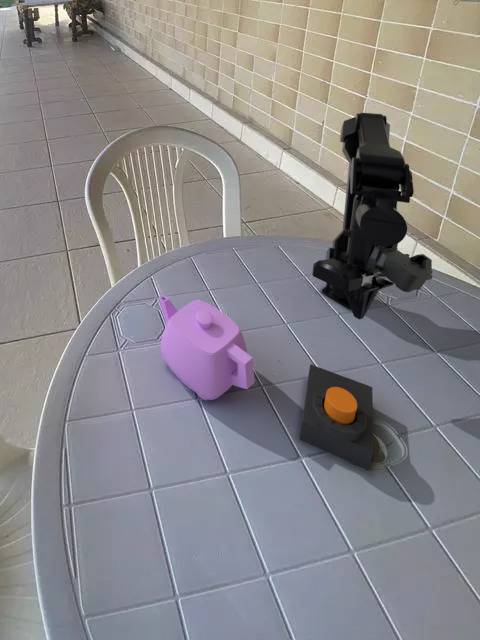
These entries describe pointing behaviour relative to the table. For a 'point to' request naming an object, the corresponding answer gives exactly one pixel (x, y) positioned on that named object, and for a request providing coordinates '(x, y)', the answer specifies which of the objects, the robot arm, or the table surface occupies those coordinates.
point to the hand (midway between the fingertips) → (358, 317)
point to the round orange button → (340, 405)
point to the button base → (332, 435)
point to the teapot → (205, 349)
